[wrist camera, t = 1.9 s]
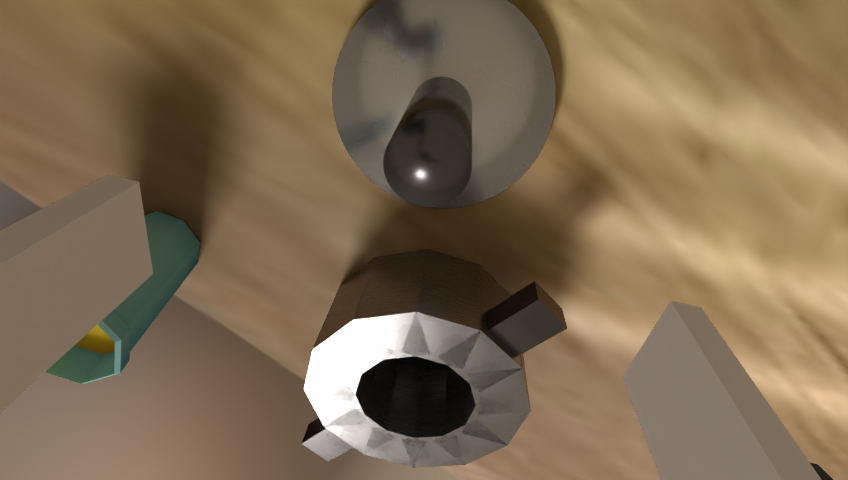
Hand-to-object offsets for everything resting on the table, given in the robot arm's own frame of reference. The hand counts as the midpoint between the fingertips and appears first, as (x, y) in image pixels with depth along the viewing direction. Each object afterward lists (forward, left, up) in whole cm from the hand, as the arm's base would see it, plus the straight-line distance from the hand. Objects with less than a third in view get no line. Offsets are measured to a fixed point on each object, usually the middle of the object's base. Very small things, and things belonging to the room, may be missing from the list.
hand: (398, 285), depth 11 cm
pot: (+18, +2, -18) cm, 26 cm away
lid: (0, 0, -18) cm, 18 cm away
